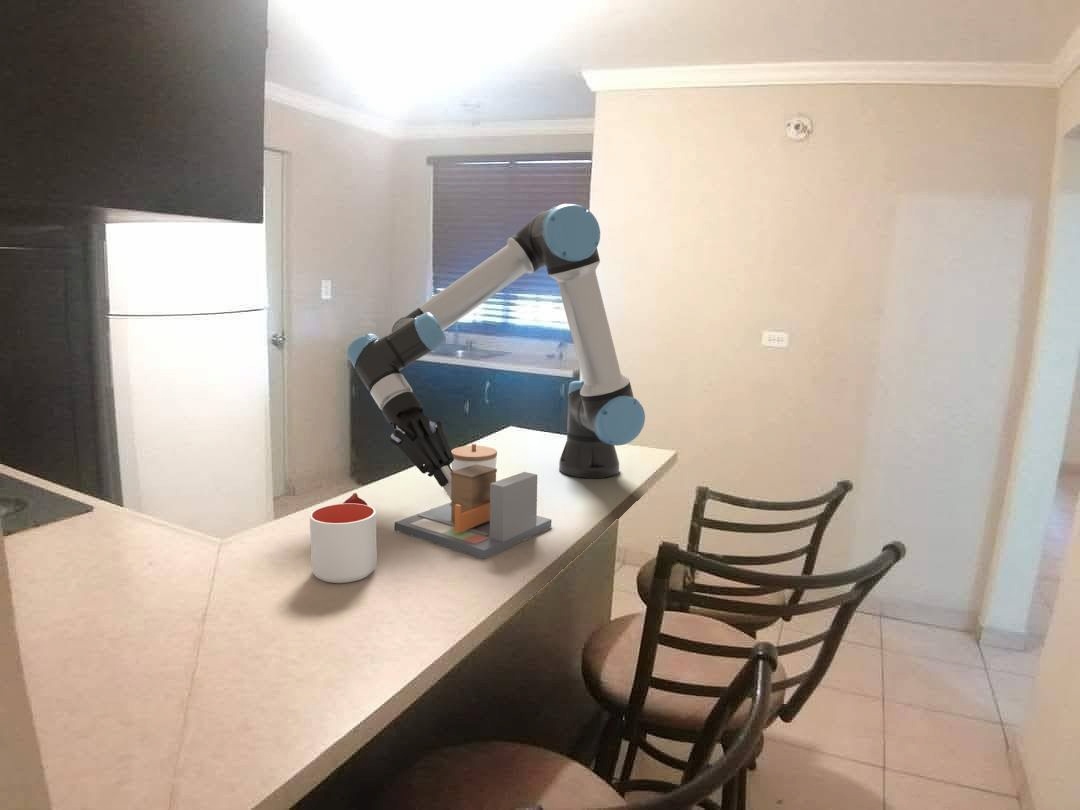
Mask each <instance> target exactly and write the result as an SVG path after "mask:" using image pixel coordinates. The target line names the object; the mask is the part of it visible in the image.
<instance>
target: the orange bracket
mask: <svg viewBox="0 0 1080 810" xmlns="http://www.w3.org/2000/svg"><path fill="white" fill-rule="evenodd" d="M489 520H490V503H487V504H484V505H482V506H479V507H477V508H474V509H471V510H469V511H466V512H463V513H461V505H459V504H456V505H455V532H457V533H460V532H463V531H465V530H468V529H470V528H472V527H475V526H477V525H480V524H482V523H485V522H487V521H489Z"/></svg>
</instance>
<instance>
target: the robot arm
mask: <svg viewBox="0 0 1080 810" xmlns="http://www.w3.org/2000/svg"><path fill="white" fill-rule="evenodd" d="M600 241H601V228H600V224H599V221H598V219H597V218H596V217H595V215H594V214H593V213H592V211H590V210H589V209H588V208H586V207H584V206H583V205H579V204H575V203H574V204H573V203H564V204H559V205H557V206H553V207H551V208H550V209H546V210H543V211H541V212H540V213H537V215H535V216H534V217H533V218H532V219H531V220H530V221H529V222H528V223H526V224H525V225H524V226H523V227H521V228H520V229H519V230H518V231H517V232H515V233H514V234H513V235H511V236H510V237H509V238H507V243H506V245H505V246H503V247H502V248H501V249H499V250H498V251H497V252H495V253H494V254H492V255H491V256H489V257H487V259H485V260H484V261H482V262H481V263H479V264H478V265H477V266H475V267H474V268H472V269H470V270H469V271H468V272H466V273H465V274H464V275H463V276H461V277H459V278H458V279H457V280H456V281H454V282H453V283H451V284H449V286H446V287H445V288H444V289H442V290H441V291H440V292H439V293H437V294H435V295H434V296H433V297H431V298H430V299H428V300H427V301H426V302H424V303H422V304H421V305H419V306H418V307H417V308H416V309H414V310H413V311H411V312H410V313H408V314H407V315H405V316H403V317H400V318H399V319H398V320H396V321H395V322H394V324H393V325H392V328H391V333H389V334H387V335H385V336H383V337H381V338H380V337H379V336H377V334H374V333H366V334H365V335H361V336H358V337H357V338H355V339H354V340H353V341H352V342H351V343H350V344H349V346H348V348H347V350H346V351H347V357H348V359H349V361H350V363H351V365H352V367H353V369H354V370H355V372H356V374H357V376H358V377H359V378H360V380H361V381H362V383H363V384H364V386H365V388H366V389H367V391H368V392H369V393H370V395H371V397H372V398H373V400H374V402H375V404H376V405H377V406H378V409H380V410H381V411H382V414H383V417H384V418H385V420H386V421H387V423H388V424H389V425H390V426H391V427H393V430H394V431H393V433H391V435H390V436H389V437H388V440H389V442H391V443H393V444H394V445H395V446H397V447H398V448H399V449H400V450H401V451H402V452H403V454H405V456H406V457H407V458H408V459H409V461H411V463H413V465H414V466H415V467H416V468H417V469H418V470H419V472H420V473H422V474H424V475H425V474H427V473H428V474H427V477H431V478H432V477H434V478H435V480H436V482H437V484H438V485H439V486H440V487H441V488H443V489H444V492H445V493H446V494H447V496H448V498H449V499H450V500H451V472H452V471H453V470H452V466H451V465H452V464H451V463H452V462H453V461H454V457H453V454H452V452H451V450H452V449H451V448H450V444H449V443H448V440H447V438H446V435H445V433H444V431H443V423H442V421H440V420H437V421H436V422H433V421H431V420H430V417H428V416H427V415H426V414H425V413H424V411H423V404H422V403H421V401H420V399H419V398H418V396H417V395H416V393H415V392H413V388H412V387H411V385H410V384H409V382H408V381H407V379H406V378H405V376H404V375H403V373H402V371H401V370H403V369H405V368H406V367H408V366H409V365H411V364H413V363H414V362H416V361H418V360H419V359H421V358H422V357H424V356H426V355H427V354H429V353H430V352H431V353H432V351H436V349H437V348H439V347H440V346H442V345H443V344H444V343H445V342H446V340H447V335H446V334H445V330H446V329H448V328H450V326H452V325H454V324H455V323H456V322H458V321H460V320H461V319H462V318H464V317H466V315H468V314H470V313H471V312H472V311H473V310H475V309H476V308H478V307H479V306H481V305H482V304H483V303H485V302H487V301H488V300H489V299H491V298H492V297H494V296H495V295H497V294H498V293H499V292H501V291H502V290H503V289H504V288H506V287H507V286H509V285H510V284H512V283H513V282H514V281H516V280H517V279H519V278H521V277H522V276H523V275H524V274H534V273H536V271H538V270H539V269H541V268H542V267H546V271H547V274H548V277H550V278H552V279H553V280H555V281H556V282H557V286H558V290H559V294H560V298H561V301H562V305H563V307H564V312H565V315H566V320H567V323H568V327H569V330H570V334H571V339H572V342H573V345H574V350H575V353H576V357H577V360H578V361H577V362H578V365H579V368H580V372H581V376H582V379H583V380H572V381H571V382H570V383H569V385H568V392H567V422H566V423H567V424H566V426H567V428H566V430H567V431H566V432H567V433H566V442H565V444H564V447H563V450H562V453H561V455H560V457H559V463H558V465H559V467H558V468H559V469H558V470H559V471H560V472H561V473H562V474H565V475H568V476H570V477H576V478H583V479H584V478H586V479H600V478H601V479H602V478H610V477H614V476H617V475H618V474H619V473H620V461H619V458H618V454H617V450H616V447H615V446H624V445H627V444H630V443H631V442H633V441H635V439H636V438H637V437H639V435H640V433H641V432H642V430H643V428H644V426H645V421H646V413H645V409H644V407H643V405H642V404H641V403H640V401H639V400H638V399H637V398H635V397H634V393H633V388H632V385H631V381H630V379H629V377H627V376H625V375H623V374H622V372H621V369H620V365H619V360H618V356H617V353H616V349H615V345H614V341H613V336H612V333H611V328H610V324H609V321H608V316H607V312H606V308H605V304H604V301H603V296H602V291H601V289H600V284H599V281H598V276H597V272H596V270H597V268H598V267H599V264H600V263H601V260H600V255H599V252H598V246H599V244H600Z"/></svg>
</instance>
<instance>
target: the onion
mask: <svg viewBox="0 0 1080 810" xmlns="http://www.w3.org/2000/svg"><path fill="white" fill-rule="evenodd" d="M345 503H353V504H363V505H367V506H369V505H368V503H367V502H366V501H365V500H364V499H362V498H360V497H359V496H358V493H357V492H354V493H352V495H351V496H350V497H349V498H347V499H346V500H345V501H343V503H342V504H345Z"/></svg>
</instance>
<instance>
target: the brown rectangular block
mask: <svg viewBox="0 0 1080 810" xmlns="http://www.w3.org/2000/svg"><path fill="white" fill-rule="evenodd" d="M497 472H498V468H491V467H486V466H482V465H477V464H475V465H472V466H468V467H465V468H462V469H458V470H455V471H453V470H452V472H451V499H450V501H451V521H452V522H455V505H456V504H459V505H461V513H463V512H466V511H469V510H471V509H474V508H477V507H479V506H482V505H484V504H487V503H490V484H491V483H493V482H496V481H497Z"/></svg>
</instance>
